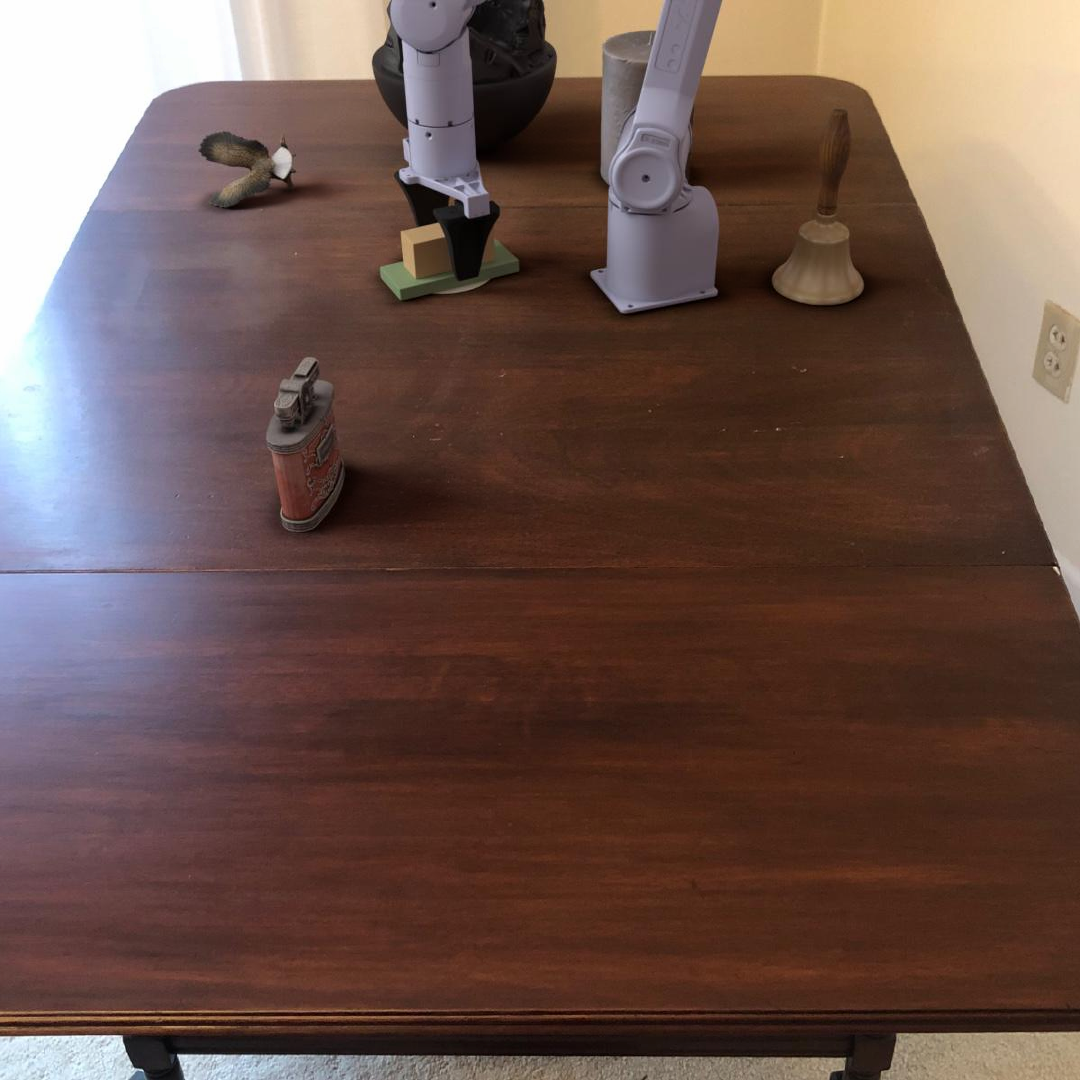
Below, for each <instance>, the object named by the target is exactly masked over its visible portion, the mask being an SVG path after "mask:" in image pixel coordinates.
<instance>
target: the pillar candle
mask: <svg viewBox="0 0 1080 1080" xmlns="http://www.w3.org/2000/svg"><path fill="white" fill-rule="evenodd" d="M655 34H656V30H653V29H651V30H636V31H628V32H624V33H617V34H615V35H613V36H610V37H608V38H607V39H606V40H605V42H603V43H602V44H601V46H602V47H601V50H602V54H601V56H602V58H601V59H602V60H601V61H602V68H601V71H602V72H601V74H602V75H601V114H600V115H601V118H600V119H601V122H600V123H601V124H600V175H601V178H602V179H603V181H604V182H605V183H606V184H607V185H608V186H610V183H609V169H610V164H611V162H612V159H613V157H614V156H615V154H616V152H617V148H618V145H619V142H620V138H621V136H620V133H621V129H622V125H623V123H624V121H625V119H626V117H627V116H628V115H629V113H630V112H631V111H632V110H633V109H634V108H635V107H636V105H637V104H638V101H639V98H640V94H641V90H642V86H643V82H644V78H645V74H646V70H647V66H648V62H649V58H650V54H651V50H652V46H653V42H654V38H655ZM694 112H695V103H694V104H693V108H692V112H691V116H690V125H691V130H692V131H693V127H694V126H693V123H694ZM691 156H692V147H691V148H690V151H689V153H688V157H687V162H686V168H685V178H686V179H687V181H688V182H689V181H690V177H691V169H690V165H691Z"/></svg>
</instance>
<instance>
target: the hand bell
mask: <svg viewBox="0 0 1080 1080" xmlns="http://www.w3.org/2000/svg"><path fill="white" fill-rule="evenodd" d="M848 113H849V112H848V110H847V109H845V108H835V109H832V111H831V114H830V116H829V118H828V121H827V123H826V125H825V127H824V129H823V132H822V134H821V138H820V142H819V149H818V150H819V151H818V167H819V174H820V183H821V184H820V191H819V196H818V201H817V202H818V204H817V207H816V211H817V212H816V216H815V219H812V220H810V221H806V222H805V223H803V224H802V225H801V226H800V227H799V229H798V234H797V236H796V237H797V238H796V241H795V244H794V247H793V250H792V252H791V254H790V256H789V258H788V259H787V261H785V262H784V263H782V264H781V265H779V267H778V268H777V269H776V270H775V271H774V273H773V275H772V276H771V284H772V287H773V288H774V290H775V291H776V292H777V293H778V294H780V295H781V296H783V297H785V298H787V299H789V300H790V301H794V302H798V303H801V304H805V305H810V306H835V305H840V304H841V305H842V304H845V303H849V302H850V301H853V300H854V299H856V298H857V297H859V296H860V295H861V294H862V293H863V291H864V288H865V283H864V280H863V277H862V275H861V274H860V272H859V271H858V270H857V269H856V268H855V267H854V264H853V263H852V258H851V251H850V249H851V248H850V235H851V233H850V231H849V228H848V227H847V226H846V225H845V224H843V223H842V222H838V221H837V211H838V202H839V201H838V200H839V199H838V198H839V188H840V183H841V181H842V177H843V175H844V173H845V171H846V169H847V166H848V163H849V158H850V154H851V149H852V134H851V129H850V128H851V127H850V123H849V115H848Z"/></svg>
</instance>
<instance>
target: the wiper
mask: <svg viewBox="0 0 1080 1080" xmlns="http://www.w3.org/2000/svg"><path fill="white" fill-rule="evenodd" d="M494 226H495V225H494ZM494 226H493V228H492V230H491V232H490V234H489V237H488V239H487V242H486V246H485V250H484V254H483V259H482V264H481V268H480V273H479V276H478V277H476V278H472V279H468V280H464V281H458V280H457V279H456V278H455V275H454V273H453V270H452V265H451V260H450V255H449V249H448V245H447V242H446V238H445V236H444V233H443V230H442V228H441V226H440V224H439V223H435V224H431V225H426V226H422V227H418V228H417V227H414V228H409V229H405V230H400V240H401V250H402V261H399V262H395V263H391V264H385V265H382V266H379V272H380V273H379V274H380V278H381V280H382V281H383V282H384V284H386V286H387V287H388V288H389V289H390V290H391V292H393V294H394V295H395V296H396V297H397V298H398V300H399V301H401V302H403V301H406V300H410V299H414V298H418V297H421V296H422V297H423V296H425V295H430V294H435V293H434V292H438V291H442V290H446V289H450V288H454V287H459V286H463V285H467V284H471V283H475V282H479V281H483V280H487V279H490V280H491V279H494V278H499V277H502V276H506V275H510V274H515V273H518V272H520V260H519V259H518V258H517V257H516V256H515V255H514V254H513V253H512V252H511V251H510V250H509V249H508V248H507V247H505V246H504V245H503V244H502V242H500V241H499V240H498V239H496V238H495V227H494Z"/></svg>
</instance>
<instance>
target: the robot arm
mask: <svg viewBox="0 0 1080 1080" xmlns="http://www.w3.org/2000/svg"><path fill="white" fill-rule="evenodd" d="M484 1H485V0H392V3H391V20H392V23H393V26H394V28H395V30H396V32H397V34H398V35H399V36H400V38H401V39H402V46H403V58H404V62H403V70H404V82H405V94H406V106H407V117H408V128H409V131H408V137H406V138H403V139H402V146H403V158H404V160H405V161H406V162H407V163H408V165H407V167H404V168H400V169H399V170H397V171H395V172H394V179H395V181H396V182H397V183H398V185H399V187H400V188H401V190H402V192H403V194H404V196H405V198H406V200H407V203H408V205H409V207H410V210H411V213H412V216H413V219H414V222H415V226H416V228H418V227H422V226H426V225H431V224H435V223H439V224H440V226H441V228H442V230H443V233H444V236H445V238H446V242H447V245H448V249H449V255H450V260H451V265H452V270H453V273H454V275H455V278H456V279H457V280H458V281H464V280H468V279H472V278H476V277H478V276H479V273H480V268H481V264H482V259H483V254H484V250H485V246H486V242H487V239H488V237H489V234H490V232H491V230H492V228H493V226H495V224H496V223H497V220H498V219H499V218H500V216H501V207H500V206H499V204H497V203H496V202H495V201H494V200H493V199H492V200H490V193H489V192H488V191H487V190H486V189H485V187H484V183H483V178H482V172H481V168H480V163H479V161H478V160H477V151H476V147H475V127H474V106H473V85H472V65H471V58H470V52H469V32H468V27H467V26H466V23H467V22H468V21H469V19H470V18H471V17H472V15H473V13H474V10H475V7H476V5H479V4H481V3H483V2H484ZM722 3H723V0H663V3H662V6H661V10H660V14H659V19H658V22H657V26H656V29H655V31H656V34H655V38H654V42H653V46H652V50H651V54H650V58H649V62H648V66H647V70H646V74H645V78H644V82H643V86H642V90H641V94H640V98H639V101H638V104H637V105H636V107H635V108H634V109H633V110H632V111H631V112H630V113H629V115H628V116H627V117H626V119H625V121H624V123H623V125H622V129H621V133H620V136H621V138H620V142H619V145H618V148H617V152H616V154H615V156H614V157H613V159H612V162H611V164H610V169H609V183H610V185H609V187H608V198H607V200H608V201H607V203H608V204H607V235H606V236H607V238H606V239H607V240H606V241H607V242H606V243H607V244H606V267H604V268H599V269H594V270H591V271H590V274H589V277H590V278H591V279H592V280H593V282H595V284H596V285H597V286H598V287H599V288H600V290H601V291H602V292H603V293H604V294H605V295H606V297H607V298H608V299H609V300H610V301H611V303H612V304H613V305H614V306H615V308H616V309H617V310H618V311H619V312H620V313H621V314H624V315H627V314H631V313H632V314H633V313H637V312H642V311H646V310H652V309H657V308H662V307H663V308H664V307H667V306H672V305H673V306H674V305H677V304H683V303H689V302H693V301H698V300H704V299H709V298H714V297H716V296H718V293H719V292H718V289H717V287H715V283H716V282H715V281H716V271H717V259H718V258H717V256H718V246H719V237H720V236H719V235H720V220H719V219H720V218H719V213H718V208H717V204H716V201H715V199H714V197H713V195H712V194H711V192H710V191H709V190H708V189H707V188H706V187H704V186H703V185H694V186H693V185H690V184H689V180H688V181H687V179H686V178H685V168H686V162H687V157H688V153H689V151H690V148H691V149H692V144H693V129H692V130H691V125H690V116H691V112H692V108H693V104H694V105H695V99H696V96H697V92H698V89H699V85H700V83H701V79H702V75H703V71H704V67H705V65H706V61H707V58H708V54H709V49H710V47H711V42H712V39H713V35H714V32H715V29H716V25H717V21H718V18H719V14H720V11H721V6H722ZM450 197H451V198H453V199H454V200H453V205H450Z"/></svg>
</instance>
